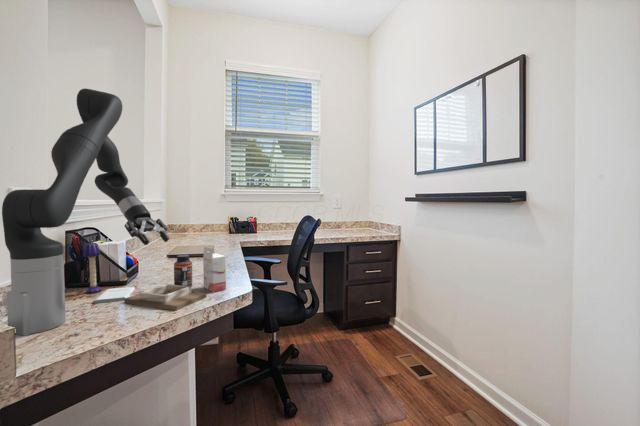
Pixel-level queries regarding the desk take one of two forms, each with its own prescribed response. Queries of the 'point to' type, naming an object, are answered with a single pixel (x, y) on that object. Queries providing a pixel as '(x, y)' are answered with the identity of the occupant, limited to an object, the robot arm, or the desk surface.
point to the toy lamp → (92, 266)
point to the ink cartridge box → (214, 270)
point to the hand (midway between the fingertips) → (157, 241)
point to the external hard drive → (114, 295)
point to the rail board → (166, 297)
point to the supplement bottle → (183, 271)
